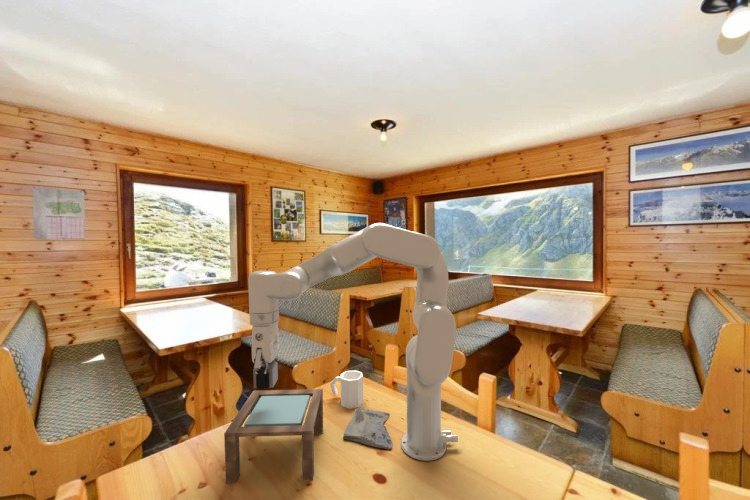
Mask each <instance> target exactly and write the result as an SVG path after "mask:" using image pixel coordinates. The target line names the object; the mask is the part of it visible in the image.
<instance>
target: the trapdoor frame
mask: <svg viewBox="0 0 750 500" xmlns="http://www.w3.org/2000/svg"><path fill="white" fill-rule="evenodd" d="M323 393H324V389H323V388H321V389H320V388H317V389H316V388H315V389H314V388H313V389H307V388H306V389H269V390H267V389H266V390H265V389H264V390H253V391H252V392H251V394H250V395H249V397H248V398H247V400H246V401H245V402H244V404H243V405H242V406H241V408H240V410H239V411H238V413H237V414H236V415H235V417H234V419H233V420H232V421H231V423H230V424H229V426H228V427H227V428H226V430H225V432H224V433H223V434H224V439H223V440H224V462H225V467H224V468H225V483H226V484H232V483H234V484H235V483H237V482H238V480H239V478H240V476H241V462H240V461H241V460H240V459H241V457H240V438H247V437H248V438H249V437H250V438H251V437H252V438H253V437H255V438H258V437H289V436H291V437H292V436H293V437H294V436H301V463H302V464H301V467H302V468H301V469H302V470H301V471H302V473H301V475H302V481H303V482H304V481H314V476H315V441H314V440H315V437H314V435H315V434H316V435H317V434H323V431H324V397H323V396H324V394H323ZM292 395H310V396H311V398H310V401H309V403H310V404H309V405H308V408H307V411H306V414H305V418H304V421H303V422H304V423H303V424H302V425H296V426H255V427H244V426H243V425H244V424H245V422H246V421H247V419H248V417H249V416H250V414H251V413H252V411H253V409H254V408H255V406H256V404H257V403H258V401H259V399H260V398H261V396H292Z"/></svg>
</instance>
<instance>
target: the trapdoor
mask: <svg viewBox="0 0 750 500" xmlns="http://www.w3.org/2000/svg"><path fill="white" fill-rule="evenodd" d="M311 399H312V397H311V396H310V395H292V396H261V398H260V399H259V401H258V403H257V404H256V406H255V408H254V409H253V411H252V413H251V412H250V414H249V415H248V417H247V418H246V420H245V422H244V423H243V425H244V426H243V427H255V426H296V425H303V424H304V423H303V422H304V421H305V418H306V415H307V411H308V408H309V405H310V404H309V403H310V402H311Z"/></svg>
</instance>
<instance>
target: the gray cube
mask: <svg viewBox="0 0 750 500" xmlns="http://www.w3.org/2000/svg"><path fill="white" fill-rule="evenodd" d="M261 365H262V366H263V367H264V368H265V364H261ZM278 368H279V367H278V361H275V362H271V363H268V372H267V373H269V388H268V389H271V388H272V389H273V388H274V387H275V385H276V383H277V381H278V380H279V376H278V375H279V374H278V372H279V371H278ZM252 371H253V374H252V375H253V389H257V388H256V370H255V369H254V368H253V369H252Z"/></svg>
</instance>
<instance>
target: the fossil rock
mask: <svg viewBox="0 0 750 500" xmlns="http://www.w3.org/2000/svg"><path fill="white" fill-rule="evenodd" d="M390 415H391V414H390V413H389V412H386V411H380V410H374V409H370V408H365V407H362V406H359V407H358V408H354V412H353V415H352V417H351V419H350V420H349V422H348V424H347V425H346V427H345V429H344V431H343V437H342V438H343V439H344V440H345V439H346V440H349V441H351V442H355V443H360V444H363V445H366V446H369V447H373V448H379V449H386V450H388V451H389V450H391V449H392V448H393V441H392V437H391V436H390V435H389V434H390V433H389V432H388V428H387V427H386V426H385V422H387V421H388V419H389V417H390Z"/></svg>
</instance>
